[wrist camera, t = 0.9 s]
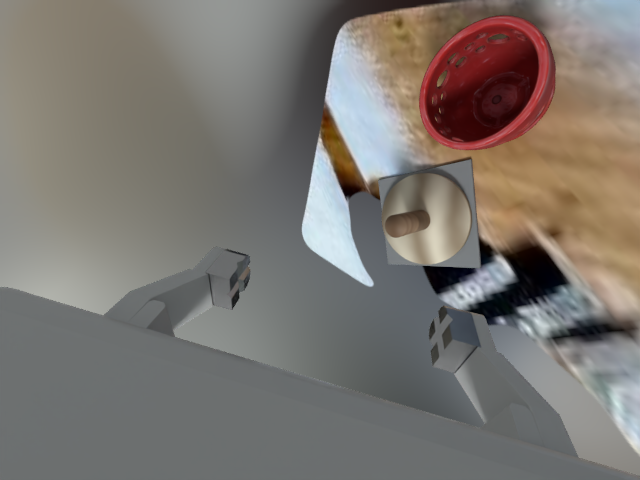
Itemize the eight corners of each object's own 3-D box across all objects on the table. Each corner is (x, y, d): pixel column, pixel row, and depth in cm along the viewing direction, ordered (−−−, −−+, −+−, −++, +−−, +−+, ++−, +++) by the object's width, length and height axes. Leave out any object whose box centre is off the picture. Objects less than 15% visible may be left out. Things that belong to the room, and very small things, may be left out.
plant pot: (437, 112, 45) (398, 99, 36) (516, 26, 36) (488, -16, 28) (490, 172, 40) (460, 173, 32) (595, 92, 32) (588, 65, 24)
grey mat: (471, 159, 42) (470, 159, 42) (481, 267, 44) (480, 268, 43) (379, 180, 55) (378, 180, 54) (389, 263, 56) (388, 263, 56)
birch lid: (467, 163, 42) (441, 162, 36) (476, 264, 44) (452, 280, 37) (380, 182, 54) (349, 183, 48) (390, 261, 55) (360, 273, 49)
